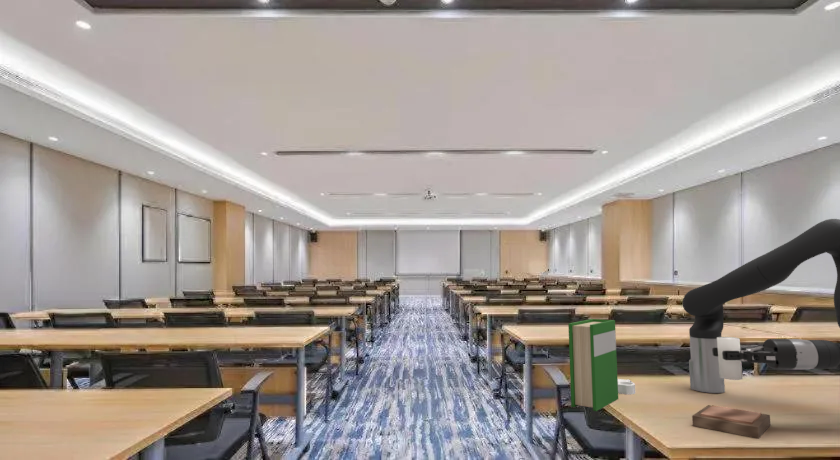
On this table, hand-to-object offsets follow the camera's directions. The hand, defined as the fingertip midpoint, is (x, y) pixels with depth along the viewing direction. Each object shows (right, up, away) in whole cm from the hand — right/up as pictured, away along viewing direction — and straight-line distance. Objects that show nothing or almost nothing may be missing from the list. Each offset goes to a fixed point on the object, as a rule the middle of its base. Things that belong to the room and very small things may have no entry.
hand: (718, 353), depth 127 cm
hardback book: (-24, -20, +21) cm, 38 cm away
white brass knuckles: (-14, -22, +39) cm, 47 cm away
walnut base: (+2, -18, -2) cm, 18 cm away
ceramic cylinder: (+3, -6, -1) cm, 7 cm away
